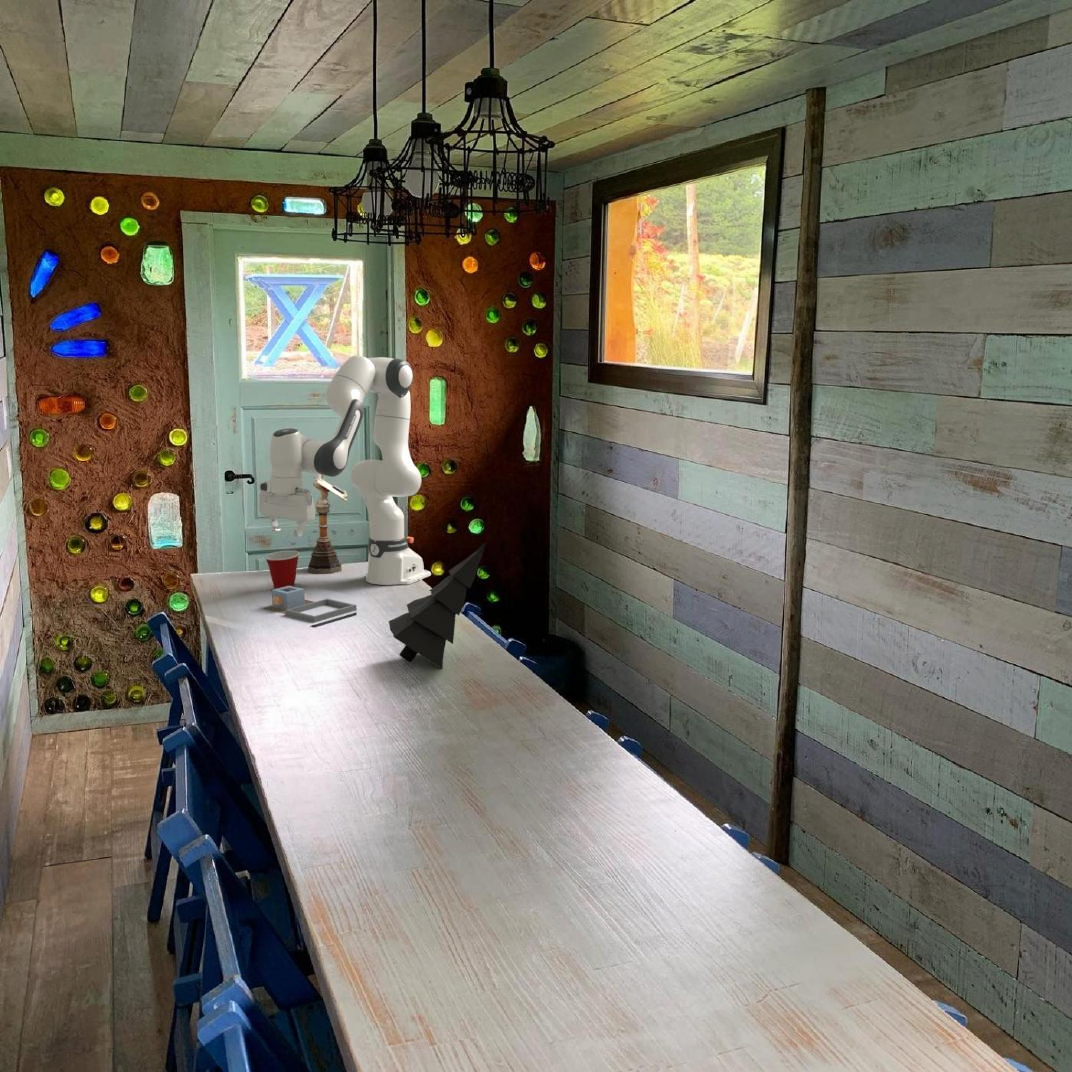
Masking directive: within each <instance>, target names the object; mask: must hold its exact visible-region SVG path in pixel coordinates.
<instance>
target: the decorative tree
mask: <svg viewBox="0 0 1072 1072" xmlns="http://www.w3.org/2000/svg"><path fill="white" fill-rule="evenodd" d="M486 546H487V542H484V543H483V544H482V545H481V546H480V547H478V548H477V550H475V552H473V553H472V554H470V555H469V556H468V557H466V558H464V559H463V560H462V561H460V562H459V563H458V564H456V565H455V566H453V567H452V568H450V569H449V570H448V572H449V575H448V576H446V577H445V578H444V579H443V580H441V581H440V582H439V583H438V584H437V585H436V586H434V587H431V589H429V592H430V594H429V595H427V596H425V597H420V598H417V599H413V600H412V601H411V602H409V603H407V604H406V607H407V610H408V612H406V613H403V614H402V615H400V616H397V617H395V618H393V619H390V620H389V621H388V625H389V630H390V632H391V633H392V635H393V638H394V639H396V640H397V641H399V642H400V643H402V644H403V645H405V646H403V648H402V649H401V651H400V652H399V656H400V657H401V658H402V659H404V661H407V662H409V663H413V661H414V660H415V658H416V657H417V655H420V656H421V657H422V658H424V659H425V660H427V661H429V662H431V663H432V664H433V665H435V666H437V667H438V668H440V669H442V670H443V666H444V665H443V664H444V656H445V655H444V654H445V648H446V644H447V642H449V643H450V644H452V645H453V644H454V637H455V629H456V628H455V626H456V615H457V616H460V614H461V612H462V610H463V607H464V604H465V600H466V596H467V588H468V589H471V587H472V586H473V583H474V580H475V579H476V574H477V572H478V567H479V564H480V562H481V559H482V557H483V554H484V551H485V549H486Z"/></svg>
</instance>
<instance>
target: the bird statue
mask: <svg viewBox="0 0 1072 1072" xmlns="http://www.w3.org/2000/svg"><path fill="white" fill-rule="evenodd" d="M325 476H326V475H322V474H316V473H315V475H314V476H313V478H314V479H313V481H312V482H313V483H312V485H313V487H315V488H316V489H317V490H319V491H320V495H321V497H318V499H317V501H316V503H315V504H314V507H315V513H317V514H318V517H319V518H318V521H319V522H318V523H319V524H318V528H319V537H318V538H317V539H316V544H315V547H314V549H313V550H312V552H311V554H310V556H311V557H310V560H309V563H308V565H307V572H308V573H310V574H316V575H325V574H326V575H328V574H335V573H339V572H342V563H341V562H340V559H339V558H338V555H337V552H336V550H335V548H334V546H332V543H331V541H332V540H331V539H330V538H329V537H328V527H329V525H328V517H327V516H328V514H329V513H330V508H331V504H330V503H329V499H328V497H329V492H332V493H333V494H335V495H336V496H337V497H340V499H342V501H344V502H348V500H347V498H348V497H349V495H348V493H347V492H346V490H345V489H341V488H340V487H339V486H337V485H335V484H333V485H331V484H330V483H329V482H327V481H326V480H325V478H324V477H325Z"/></svg>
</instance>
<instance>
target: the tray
mask: <svg viewBox="0 0 1072 1072" xmlns="http://www.w3.org/2000/svg"><path fill="white" fill-rule="evenodd" d="M324 606H331V607H335V608H338V609H333V610H331V611H327V612H324V613H321V614H320V613H319V614H317V615H312V614H308V613H304V612H306V611H309V610H312V609H316V608H319V607H324ZM355 611H357V604H353V603H349V602H344V601H340V600H337V599H330V598H324V599H321V600H317V601H313V603H309V604H305V605H302V606H298V607H294V608H291V609H287V610H285V614H284V616H287V617H290V618H295V619H299V620H303V621H308V622H311V623H316V624H312V625H310V627H311V628H318V627H321V626H325V625H328V624H329V625H330V624H331V623H334V622H338V621H341V620H346V619H349V618H352V617H355V616H357V615H358V614H357V612H355ZM352 612H353V613H352ZM348 613H349V614H348ZM345 614H346V615H345ZM339 616H340V617H339ZM335 617H336V618H335ZM328 619H330V620H328ZM325 620H326V621H325ZM321 621H323V622H321Z"/></svg>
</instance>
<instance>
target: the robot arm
mask: <svg viewBox="0 0 1072 1072" xmlns="http://www.w3.org/2000/svg"><path fill="white" fill-rule="evenodd" d="M413 382H414V371H413V369H412V366H411V364H410V363H409V362H408V361H407V360H404V359H401V358H391V357H384V356H383V357H382V356H381V357H380V356H378V357H365V356H363V355H356V354H355V355H353V356H350V357H349V358H348V359H347V360H346V361H345V362H343V364H342V365H341V366H340V368H338V370H337V371H336V373H335V374H334V376H333V378H332V379H331V381H330V382H329V384H328V386H327V389H326V390H325V399H326V400H325V401H326V403H327V405H328V406H329V408H330V409H331V410H332V411H333V412H334V413H335V414H336V415H338V416H339V417H340V420H339V422H338V425H337V427H336V430H335V432H334V434H333V436H332V437H331V438H330V439H326V440H317V439H313V438H311V439H310V438H309V437H306V436H305V435H303V434H301V433H300V430H299V429H296V428H282V429H278V430H276V431H274V432H273V433H272V436H271V439H270V447H269V462H270V464H271V465H270V466H271V470H270V476H269V477H270V479H267V480H266V481H263V482H260V483H258V490H259V492H258V511H259V514H260V515H261V516H266V517H268V521H269V523H270V525H271V531H272V533H276V534H277V533H280V532H281V526H280V525H279V523H278V519H281V520H282V519H283V520H289V521H294V522H296V525H297V527H296V529H294V531H293V533H294V536H295V537H297V538H299V537H303V531H304V528H305V527H306V523H310V522H314V520H315V519H316V507H315V501H314V498H313V494H312V493H311V491H310V490H309V489H307V488H303V472H304V473H311V474H315V475H316V474H321V475H325V476H327V477H336V476H339V475H340V474H341V473H342V472H343V471H344V470H345V469H346V467H347V465H348V460H349V457H350V451H351V448H352V447H353V444H354V441H355V439H356V436H357V433H358V431H359V429H360V426H361V424H362V421H363V419H364V414H365V407H364V405H363V403H364V400H365V399H366V397H367V395H368V393H374V394H377V397H378V399H377V402H376V408H375V415H374V423H373V433H372V434H373V435H372V440H373V442H374V444H375V445H376V446H377V447H378V448H379V449H380V451H381V457H382V460H380V459H365V460H359V461H358V462H356V463H355V464H354V466H353V467H352V470H351V473H350V474H351V475H350V479H351V483H352V485H353V486H354V488H356V490H358V492H359V493H360V495H361V497H362V498H363V501H364V503H365V506H366V507H365V508H367V509H366V510H367V513H368V522H369V523H368V525H369V537H368V542H367V543H368V549H369V552H368V559H367V560H368V561H367V572H366V573H365V582H367V583H369V584H373V585H382V586H392V585H411V584H413V583H416V582H418V581H420V580H423V579H425V578H428V577H430V576H431V575H432V573H431V571H429V570H427V569H424V568H425V567H424V561H423V558H422V557H421V556H420V555H419V554H418V553H416V552H415V551H413V549H411V548H410V547H409V544H413V543H414V540H415V539H414V537H412V536H407V537H405V515H404V513H403V510H402V509H401V508H400V507H399V506H398V505H397V504H396V502H395V500H394V498H395V497H396V498H405V497H412V496H414V495H416V494H417V493H418V492H419V490H420V489H421V486H422V475H421V472H420V471H419V469H418V468H417V467H416V465H415V464H414V462H413V460H412V457H411V453H410V449H409V435H410V434H409V433H410V422H411V410H412V409H411V404H412V403H411V402H412V401H411V392H410V389H411V387H412V385H413ZM393 497H394V498H393ZM418 579H419V580H418Z"/></svg>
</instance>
